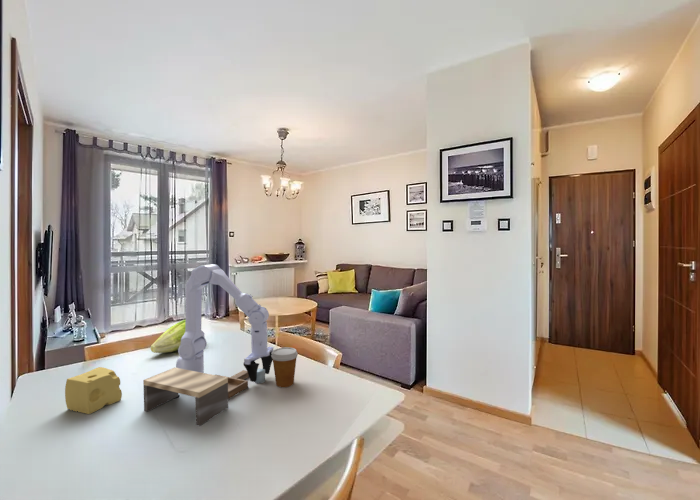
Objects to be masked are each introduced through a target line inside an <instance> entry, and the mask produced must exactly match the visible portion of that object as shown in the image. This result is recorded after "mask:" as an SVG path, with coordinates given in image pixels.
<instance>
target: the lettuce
mask: <svg viewBox="0 0 700 500" xmlns="http://www.w3.org/2000/svg"><path fill="white" fill-rule="evenodd" d="M185 325H186V319H182V320H181V321H178V322H176V323H175V324H173V325H172V326H170V327H169V328H168V329H166V330H165V331H164V332H163V333H162V334H161V335H160V336H159V337H158V338H157V339H156V340H155V341H154V342H153V343H152V344H151V346H150V350H151V352H152V353H155V354H162V353H163V354H164V353H172V352H176V351H178V348H179V346H180V344H181V338H182V337H183V335H184V333H185Z"/></svg>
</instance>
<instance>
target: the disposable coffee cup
mask: <svg viewBox="0 0 700 500" xmlns="http://www.w3.org/2000/svg"><path fill="white" fill-rule="evenodd" d="M271 357H272V359H273V361H272V364H273V365H272V366H273V370H274V378H275V379H274V380H275V385H276V387H279V388H288V387H291V386H293V385H294V383H295V373H296V367H297V366H296V364H297V358H298V351H297V349H296V348H294V347H288V346H287V347H279V348H275V349H273V352H272V355H271Z"/></svg>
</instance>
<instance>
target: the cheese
mask: <svg viewBox="0 0 700 500" xmlns="http://www.w3.org/2000/svg"><path fill="white" fill-rule="evenodd" d="M120 386H121V378H120V376H118V375H117V374H116V371H114V370H112V369H109V368H107V367H101V366H100V367H99V366H98V367H96V368H94V369H91V370H89V371H86V372H84V373H81V374H78V375H75V376H72V377H68V378H66V383H65V388H64V398H65V405H66V407H67V410H68V409H70V410H69V411H72V410H73V412H77V411H78V412H77V413H82V414H86V415H91V414H93V413H95V412H97V411H99V410H101V409H103V408H105V407H104V406H107V405H108V406H109V405H113V404H115V403H118V402H119V401H122V397H123V393H122V389H120Z"/></svg>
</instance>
